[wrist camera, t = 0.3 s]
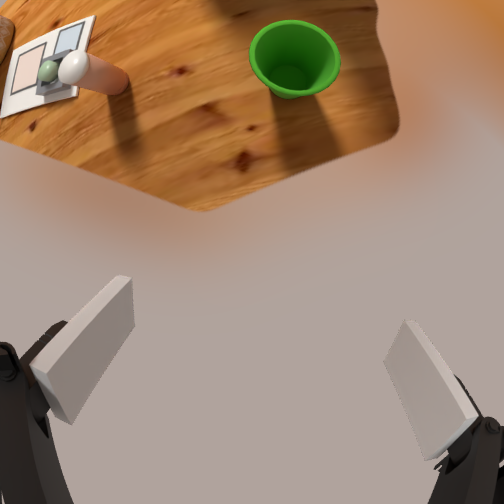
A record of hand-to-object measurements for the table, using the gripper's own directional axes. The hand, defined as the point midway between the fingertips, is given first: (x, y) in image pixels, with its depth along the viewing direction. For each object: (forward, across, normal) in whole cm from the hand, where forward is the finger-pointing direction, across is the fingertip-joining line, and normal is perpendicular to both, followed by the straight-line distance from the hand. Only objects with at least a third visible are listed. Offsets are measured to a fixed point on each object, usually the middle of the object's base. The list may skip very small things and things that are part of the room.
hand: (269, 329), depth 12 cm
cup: (+27, 0, +18) cm, 33 cm away
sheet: (+27, -46, +22) cm, 58 cm away
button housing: (+27, -38, +20) cm, 51 cm away
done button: (+25, -38, +20) cm, 50 cm away
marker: (+27, -25, +17) cm, 41 cm away
